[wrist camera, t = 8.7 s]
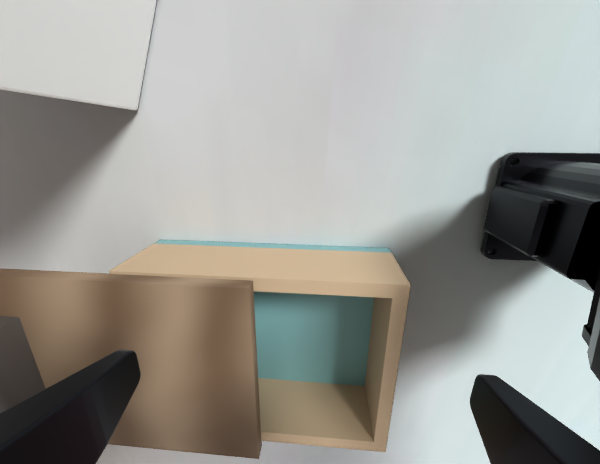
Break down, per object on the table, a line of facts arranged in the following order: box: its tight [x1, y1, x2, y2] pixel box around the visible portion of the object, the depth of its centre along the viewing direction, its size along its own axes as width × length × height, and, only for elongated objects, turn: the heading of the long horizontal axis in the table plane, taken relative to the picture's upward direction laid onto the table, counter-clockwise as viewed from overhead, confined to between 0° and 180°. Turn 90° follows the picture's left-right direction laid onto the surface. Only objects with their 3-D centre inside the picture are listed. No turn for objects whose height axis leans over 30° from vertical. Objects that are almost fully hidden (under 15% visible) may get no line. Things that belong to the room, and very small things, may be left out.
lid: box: [0, 269, 262, 459], centre depth 14 cm, size 16×12×5 cm
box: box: [109, 240, 411, 452], centre depth 19 cm, size 16×12×5 cm
